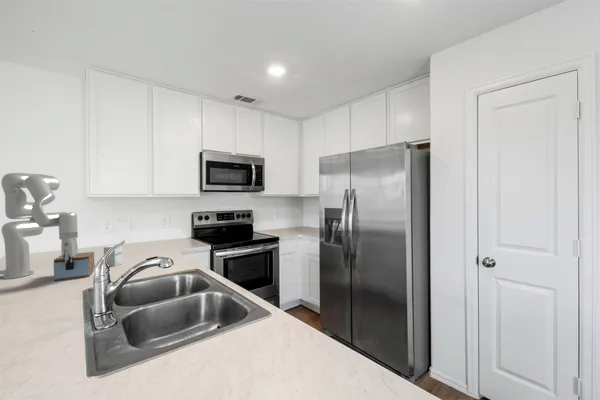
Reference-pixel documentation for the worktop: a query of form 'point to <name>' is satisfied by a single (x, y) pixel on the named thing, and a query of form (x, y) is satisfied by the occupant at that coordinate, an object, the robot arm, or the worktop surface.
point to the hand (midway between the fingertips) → (69, 269)
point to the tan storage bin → (79, 257)
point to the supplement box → (114, 256)
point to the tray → (79, 270)
